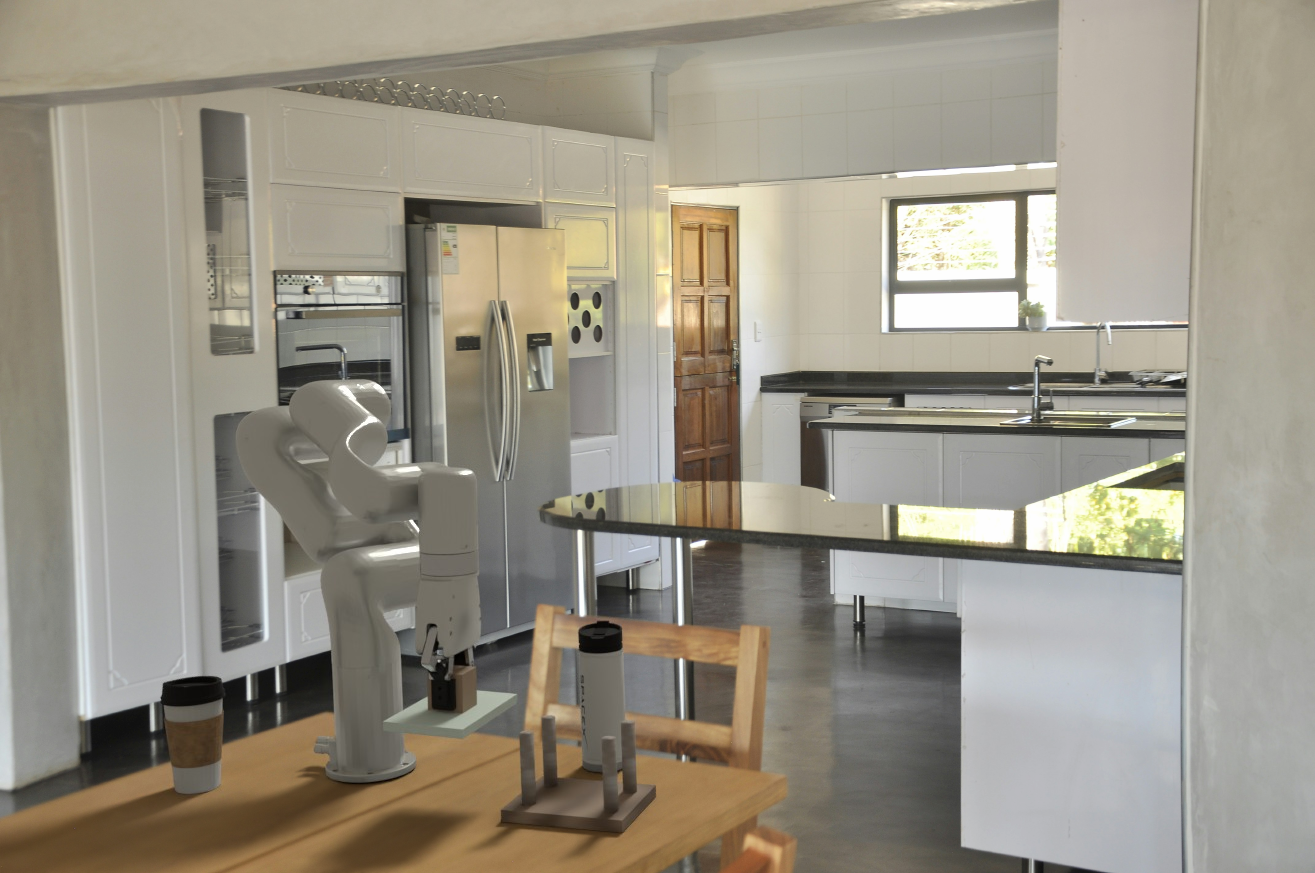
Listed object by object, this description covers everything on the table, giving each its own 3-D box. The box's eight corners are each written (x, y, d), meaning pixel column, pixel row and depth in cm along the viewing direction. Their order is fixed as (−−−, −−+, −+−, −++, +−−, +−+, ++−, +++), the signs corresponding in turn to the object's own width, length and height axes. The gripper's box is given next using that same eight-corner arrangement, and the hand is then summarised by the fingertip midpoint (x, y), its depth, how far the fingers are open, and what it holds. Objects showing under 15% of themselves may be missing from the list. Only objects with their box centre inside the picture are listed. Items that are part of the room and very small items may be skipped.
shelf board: (462, 739, 152) (462, 689, 152) (383, 730, 156) (382, 681, 155) (517, 702, 167) (516, 657, 167) (443, 695, 171) (442, 651, 170)
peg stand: (501, 821, 155) (497, 738, 154) (542, 787, 167) (539, 709, 167) (622, 832, 150) (619, 746, 149) (656, 796, 162) (653, 716, 162)
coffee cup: (151, 793, 169) (145, 684, 169) (195, 774, 177) (190, 670, 176) (199, 799, 166) (194, 688, 165) (243, 779, 174) (237, 673, 173)
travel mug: (629, 757, 178) (625, 619, 177) (624, 772, 172) (619, 629, 171) (586, 757, 179) (581, 620, 178) (579, 772, 173) (574, 629, 171)
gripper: (453, 552, 169) (456, 684, 170) (390, 574, 153) (394, 720, 155) (503, 554, 167) (506, 689, 168) (445, 577, 151) (448, 725, 152)
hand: (452, 702), depth 161 cm, fingers closed on shelf board, 4 cm apart
